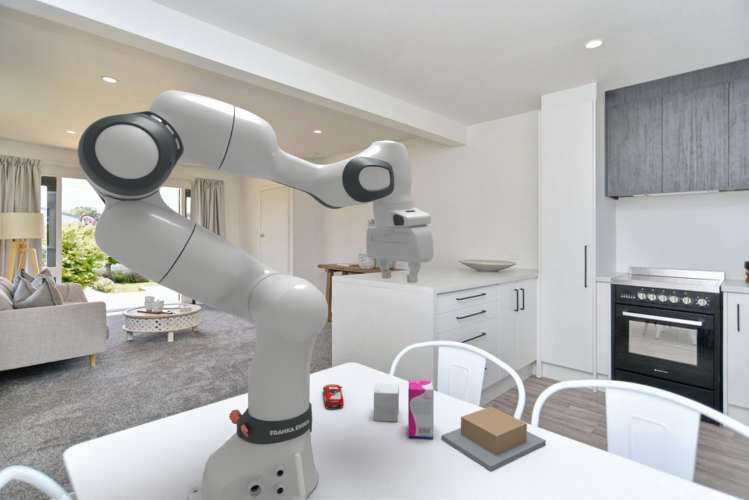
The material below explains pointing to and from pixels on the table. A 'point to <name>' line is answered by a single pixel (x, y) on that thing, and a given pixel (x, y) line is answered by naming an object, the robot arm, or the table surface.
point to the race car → (333, 396)
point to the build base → (486, 454)
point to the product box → (386, 402)
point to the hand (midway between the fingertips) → (399, 280)
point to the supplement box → (420, 409)
